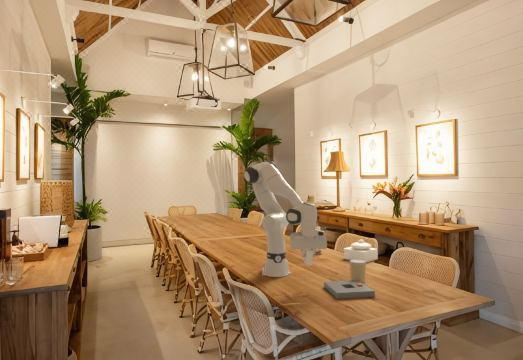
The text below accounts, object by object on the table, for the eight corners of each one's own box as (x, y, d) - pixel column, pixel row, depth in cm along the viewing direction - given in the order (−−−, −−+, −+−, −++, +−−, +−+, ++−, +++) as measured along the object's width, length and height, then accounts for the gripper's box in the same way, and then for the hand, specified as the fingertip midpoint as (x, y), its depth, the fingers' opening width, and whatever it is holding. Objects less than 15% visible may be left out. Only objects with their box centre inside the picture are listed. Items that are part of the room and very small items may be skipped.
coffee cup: (367, 280, 206) (367, 260, 206) (363, 284, 197) (363, 263, 198) (352, 278, 210) (352, 258, 210) (347, 282, 202) (347, 261, 202)
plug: (302, 262, 196) (303, 248, 196) (308, 262, 196) (309, 248, 196) (306, 265, 189) (306, 250, 189) (312, 265, 189) (312, 250, 189)
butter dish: (364, 264, 246) (364, 242, 246) (343, 260, 260) (343, 239, 260) (377, 260, 258) (377, 239, 258) (357, 256, 271) (356, 236, 271)
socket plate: (324, 287, 193) (324, 280, 194) (358, 285, 197) (358, 278, 197) (337, 299, 174) (337, 291, 174) (374, 296, 177) (374, 289, 177)
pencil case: (307, 256, 273) (307, 250, 273) (309, 251, 292) (309, 245, 292) (321, 257, 271) (321, 250, 271) (323, 252, 290) (323, 246, 290)
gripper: (291, 233, 187) (291, 258, 187) (328, 232, 190) (327, 258, 190) (288, 231, 193) (288, 256, 193) (324, 230, 196) (324, 255, 196)
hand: (308, 257), depth 191 cm, fingers closed on plug, 3 cm apart
